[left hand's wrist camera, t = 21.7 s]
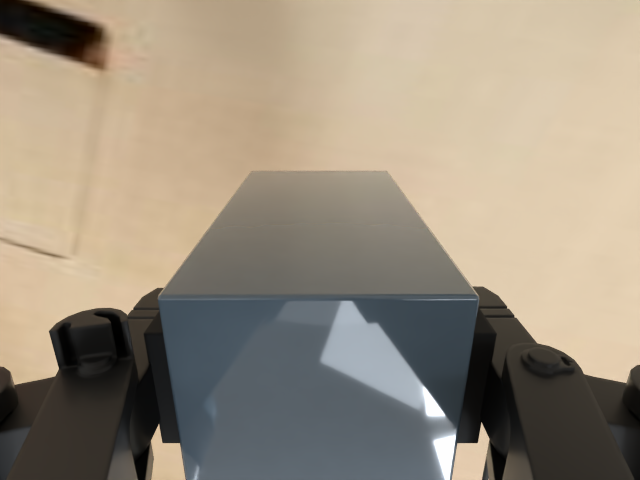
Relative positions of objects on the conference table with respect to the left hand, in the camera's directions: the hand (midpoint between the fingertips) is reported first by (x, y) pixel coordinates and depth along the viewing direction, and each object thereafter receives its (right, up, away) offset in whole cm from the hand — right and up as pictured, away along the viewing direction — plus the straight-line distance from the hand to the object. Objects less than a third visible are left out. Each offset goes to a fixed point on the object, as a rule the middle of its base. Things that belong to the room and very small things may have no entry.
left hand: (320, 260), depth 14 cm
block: (0, +1, +2) cm, 2 cm away
